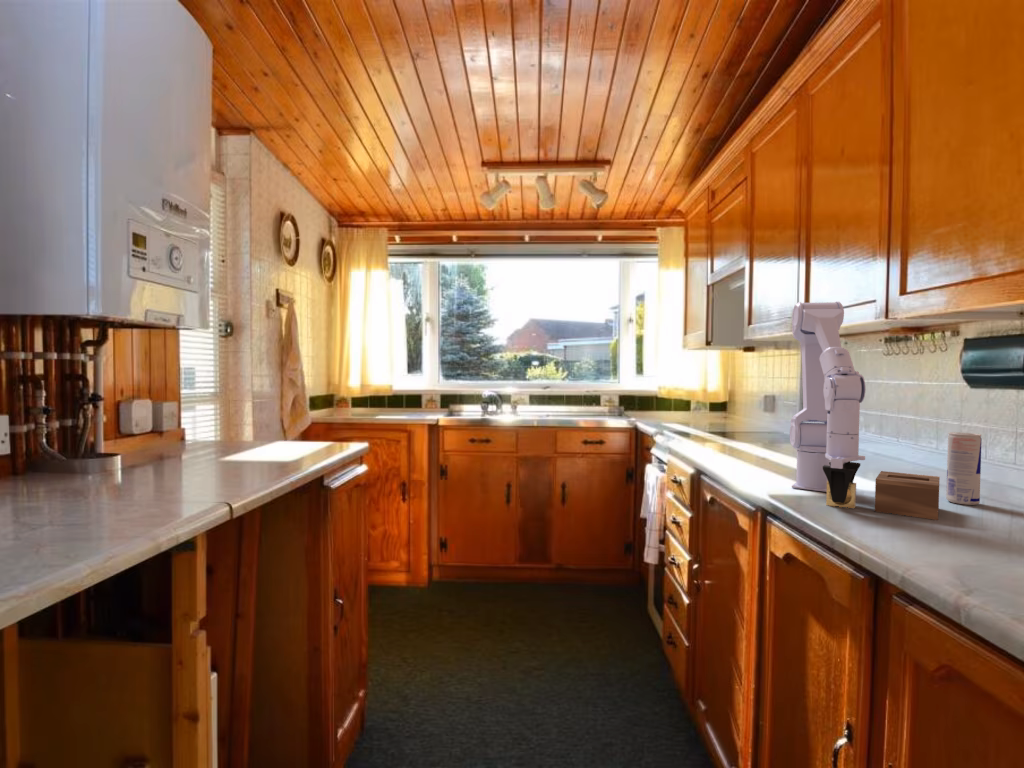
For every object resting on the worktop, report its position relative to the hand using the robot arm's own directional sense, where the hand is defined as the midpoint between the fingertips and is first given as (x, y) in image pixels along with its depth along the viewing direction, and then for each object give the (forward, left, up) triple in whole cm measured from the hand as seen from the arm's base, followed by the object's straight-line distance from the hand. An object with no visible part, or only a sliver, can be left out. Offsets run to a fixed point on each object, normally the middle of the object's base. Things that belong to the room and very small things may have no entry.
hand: (841, 499), depth 117 cm
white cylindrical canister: (-21, +20, -2) cm, 29 cm away
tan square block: (0, 0, -2) cm, 2 cm away
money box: (-5, +11, -1) cm, 12 cm away
